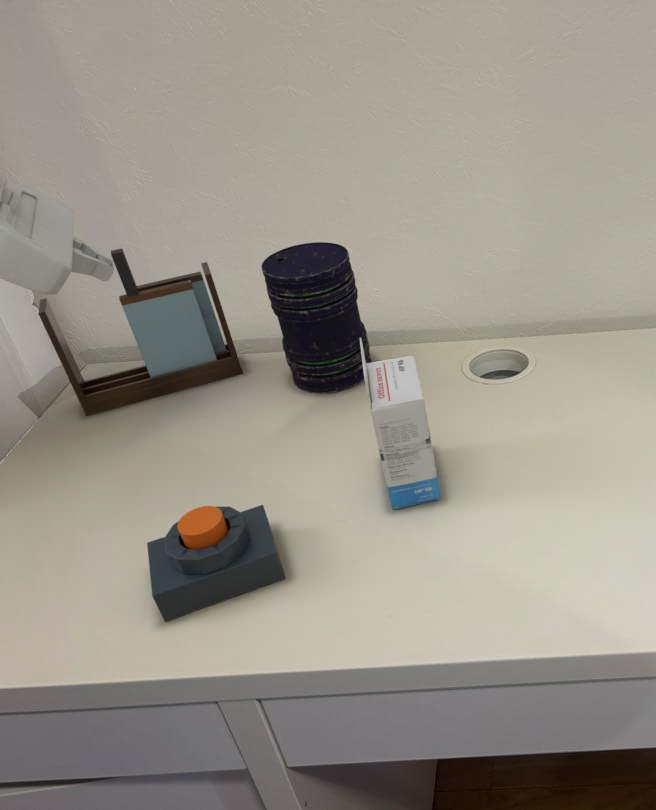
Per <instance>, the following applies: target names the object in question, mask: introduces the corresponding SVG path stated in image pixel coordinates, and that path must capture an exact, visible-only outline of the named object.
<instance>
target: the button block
mask: <svg viewBox="0 0 656 810" xmlns="http://www.w3.org/2000/svg"><path fill="white" fill-rule="evenodd" d="M216 507H217V508H219V509H220V510H221V511H222V514H223V517H224V519H225V522H226V524H227V527H228V532H227V534H226V536H225V537H224V538H223V539H222V540H220V541H219V542H218V543H216V544H215V545H212V546H209V547H206V548H203V549H189V548H187V547H186V546H185V544H184V542H183V540H182V537H181V535H180V533H179V531H178V522H179V520H178V521H176V522H175V523H174V524H172V526H171V528H170V529H169V530H168V531H167V533H166V535H165V536H164V537H161V538H157V539H154V540H152V541H148V542H147V543H146V546H147V556H148V567H149V577H150V585H151V587H150V588H151V596H152V598H153V600H154V603H155V605H156V606H157V609H158V611H159V613H160V615H161V617H162V619H163V621H164V622H165V623H167V622H169V621H173V620H176V619H179V618H180V617H183V616H186V615H189V614H192V613H194V612H197V611H201V610H202V609H203V610H204V609H205V608H208V607H211V606H214V605H217V604H219V603H222V602H224V601H227V600H231V599H233V598H235V597H239V596H241V595H244V594H247V593H250V592H252V591H255V590H259V589H262V588H263V587H267V586H269V585H272V584H275V583H277V582H280V581H283V580H286V579H287V578H286V573H285V570H284V567H283V563H282V560H281V557H280V553H279V550H278V547H277V543H276V539H275V536H274V533H273V530H272V526H271V524H270V521H269V518H268V515H267V512H266V509H265V506H264V504H261V505H257V506H254V507H251V508H248V509H245V510H243V511H239V510H237V509H235V508H234V507H231V506H216Z"/></svg>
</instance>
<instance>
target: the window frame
mask: <svg viewBox="0 0 656 810" xmlns="http://www.w3.org/2000/svg"><path fill="white" fill-rule="evenodd" d="M200 265H201V268H202V271H195V272H192V273H188V274H182V275H179V276H174V277H170V278H169V277H168V278H166V279H161V280H157V281H152V282H148V283H144V284H139V285H136V286H137V288H138V292H139V291H143V290H148V289H152V288H156V287H161V286H165V285H169V284H174V283H178V282H182V281H187V280H190V281H191V284H192V287H193V290H194V293H195V296H196V299H197V302H198V305H199V307H200V310H201V313H202V316H203V319H204V322H205V325H206V328H207V331H208V334H209V337H210V340H211V343H212V346H213V349H214V352H215V355H216V358H217V360H216V361H212V362H208V363H205V364H201V365H197V366H193V367H189V368H186V369H182V370H178V371H174V372H171V373H167V374H163V375H159V376H155V377H152V378H151V377H150V375H149V372H148V370H147V367H146V365H141V366H137V367H133V368H129V369H125V370H122V371H118V372H114V373H110V374H106V375H103V376H98V377H94V378H91V379H87V380H85V379H84V377H83V375H82V373H81V370H80V368H79V366H78V363H77V362H76V360H75V358H74V355H73V353H72V351H71V349H70V346H69V344H68V342H67V340H66V338H65V336H64V334H63V331H62V329H61V327H60V324H59V322H58V320H57V318H56V315H55V314H54V311H53V309H52V306H51V305H50V302H49V300H48V298H41V299H39V305H38V313H37V314H38V316H39V319H40V321H41V323H42V325H43V328H44V329H45V331H46V333H47V335H48V338H49V340H50V342H51V344H52V346H53V348H54V350H55V353H56V355H57V357H58V359H59V361H60V363H61V366H62V368H63V369H64V372H65V374H66V376H67V378H68V381H69V382H70V385H71V387H72V389H73V391H74V393H75V395H76V398H77V400H78V402H79V404H80V405H81V408H82V411H83V412H84V415H85V416H86V417H87V416H91V415H96V414H100V413H103V412H106V411H110V410H114V409H117V408H120V407H124V406H128V405H132V404H136V403H140V402H143V401H147V400H151V399H153V398H157V397H162V396H165V395H168V394H172V393H176V392H179V391H183V390H186V389H190V388H193V387H197V386H198V387H199V386H201V385H204V384H208V383H212V382H216V381H219V380H220V381H221V380H223V379H227V378H230V377H234V376H238V375H241V374H243V373H244V372H243V368H242V365H241V363H240V359H239V356H238V353H237V349H236V347H235V344H234V341H233V337H232V335H231V332H230V331H231V330H230V328H229V324H228V322H227V320H226V316H225V313H224V310H223V307H222V306H223V305H222V303H221V301H220V297H219V294H218V291H217V288H216V284H215V282H214V279H213V275H212V272H211V269H210V267H209V263H208V262H207V261H205V262H201V263H200ZM202 272H203V273H202ZM203 274H204V277H205V280H204V277H203ZM205 281H206V282H207V283H205ZM206 284H207V286H206ZM207 287H208V288H207ZM208 289H209V292H210V294H209V293H208ZM209 295H210V296H211V298H210V296H209ZM211 299H212V301H213V303H212V301H211ZM213 305H214V307H215V310H214V307H213ZM215 311H216V313H215ZM216 314H217V316H216ZM217 317H218V320H219V322H218V320H217ZM219 323H220V326H219ZM220 327H221V329H222V332H221V329H220ZM222 333H223V335H222ZM223 336H224V338H225V340H224V338H223ZM225 342H226V344H225Z"/></svg>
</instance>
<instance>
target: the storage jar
mask: <svg viewBox="0 0 656 810" xmlns="http://www.w3.org/2000/svg"><path fill="white" fill-rule="evenodd" d="M260 266H261V271H262V275H263V277H264V282H265V287H266V292H267V296H268V299H269V301H270V308H271V309H272V312H273V314H274V315H275V316H276V318H277V320H278V325H279V327H280V331H281V335H282V339H281V343H282V350H283V351H284V357H285V360H286V363H287V366H288V367H289V370H290V373H291V376H292V380H293V384H294V386H296V387H297V388H298V389H299V390H301V391H303V392H306V393H311V394H320V395H321V394H331V393H337V392H342V391H344V390H347V389H350V388H353V387H355V386H356V385H359V384H360V383H362V382H363V381H365V379H364V372H363V363H362V355H361V347H360V337H361V339H362V344H363V349H364V355H365V360H366V364H367V363H372V362H373V361H372V357H371V353H370V343H369V338H368V335H367V334H368V333H367V329H366V327H365V324H364V323H363V321H362V320H361V319H362V318H361V314H360V311H359V310H360V309H359V306H358V297H359V294H358V288H357V285H356V277H355V273H354V271H353V268H352V263H351V261H350V254H349V251H348V249H347V248H346V247H345V246H343V245H341V244H339V243H334V242H326V241H325V242H323V241H321V242H319V241H318V242H317V241H316V242H306V243H301V244H295V245H292V246H288V247H285V248H283V249H280V250H278V251H275V252H273V253H271V254H270V255H269V256H267V257H266V258H265V259H263V261H262V263H261V265H260Z"/></svg>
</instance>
